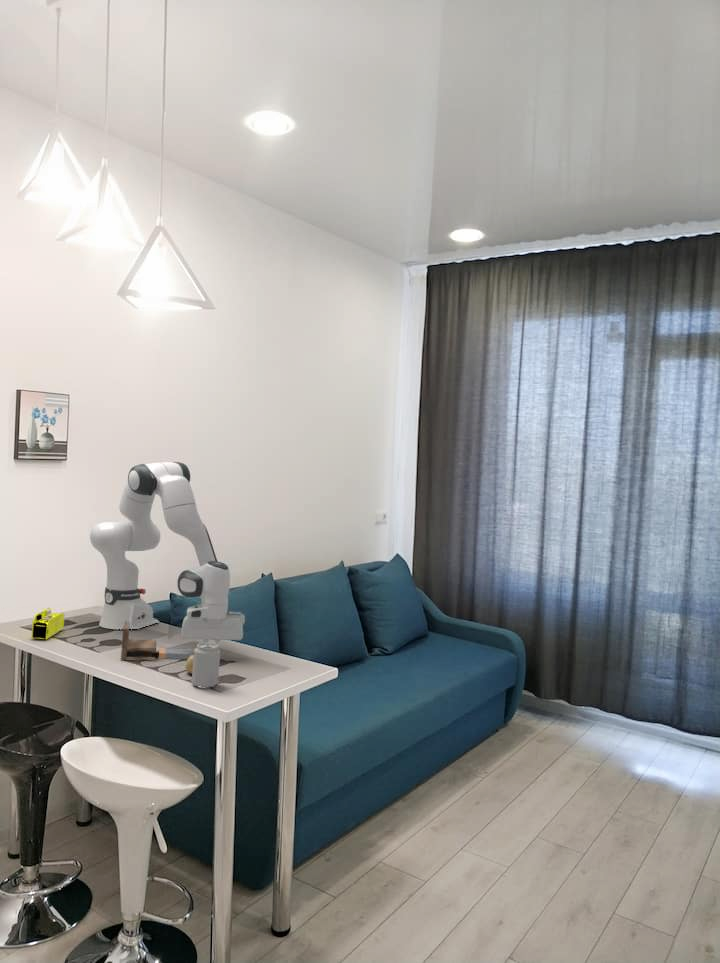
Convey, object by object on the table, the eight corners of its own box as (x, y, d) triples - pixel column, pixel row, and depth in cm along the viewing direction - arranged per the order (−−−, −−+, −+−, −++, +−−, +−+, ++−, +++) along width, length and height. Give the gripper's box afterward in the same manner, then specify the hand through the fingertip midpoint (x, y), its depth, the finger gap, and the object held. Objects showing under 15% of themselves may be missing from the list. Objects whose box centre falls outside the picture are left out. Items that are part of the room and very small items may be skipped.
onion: (210, 670, 234) (211, 647, 233) (212, 677, 226) (214, 654, 226) (183, 670, 231) (185, 647, 231) (185, 678, 224) (187, 654, 223)
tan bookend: (155, 651, 249) (158, 622, 248) (155, 660, 239) (157, 629, 238) (122, 651, 246) (125, 621, 246) (120, 660, 236) (123, 628, 236)
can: (191, 689, 214) (194, 647, 213) (191, 681, 221) (195, 641, 221) (217, 689, 215) (221, 648, 215) (217, 681, 223) (220, 641, 222)
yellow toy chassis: (47, 629, 266) (49, 606, 266) (64, 630, 266) (65, 607, 266) (29, 640, 250) (31, 615, 250) (47, 641, 250) (48, 617, 250)
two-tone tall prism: (196, 655, 250) (196, 649, 250) (196, 660, 244) (197, 654, 244) (158, 654, 247) (159, 648, 247) (158, 659, 241) (159, 653, 241)
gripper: (244, 610, 253) (241, 650, 254) (182, 607, 248) (179, 649, 249) (246, 614, 247) (243, 655, 248) (183, 612, 242) (179, 654, 243)
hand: (210, 652), depth 248 cm, fingers closed
